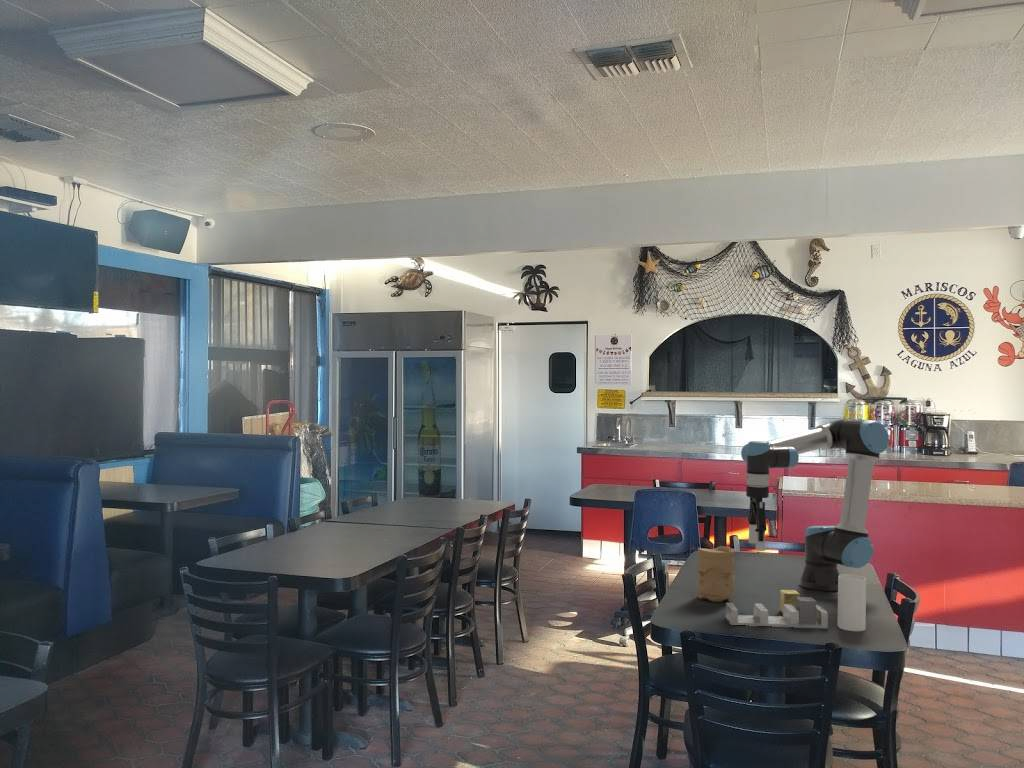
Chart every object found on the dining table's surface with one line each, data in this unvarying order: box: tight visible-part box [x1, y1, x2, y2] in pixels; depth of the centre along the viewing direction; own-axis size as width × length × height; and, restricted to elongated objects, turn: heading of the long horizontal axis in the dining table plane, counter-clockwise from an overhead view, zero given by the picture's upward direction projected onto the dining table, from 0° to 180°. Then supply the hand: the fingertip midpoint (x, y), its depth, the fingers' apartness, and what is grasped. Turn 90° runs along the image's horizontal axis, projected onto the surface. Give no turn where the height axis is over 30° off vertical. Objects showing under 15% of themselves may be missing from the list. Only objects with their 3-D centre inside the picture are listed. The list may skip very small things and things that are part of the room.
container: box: [697, 545, 735, 603], centre depth 301 cm, size 13×13×18 cm
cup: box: [837, 573, 867, 632], centre depth 268 cm, size 8×8×16 cm
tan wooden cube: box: [779, 589, 801, 614], centre depth 285 cm, size 5×5×7 cm
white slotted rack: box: [725, 596, 829, 630], centre depth 272 cm, size 30×9×8 cm, turn 87°
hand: (756, 546), depth 294 cm, fingers open, 13 cm apart
